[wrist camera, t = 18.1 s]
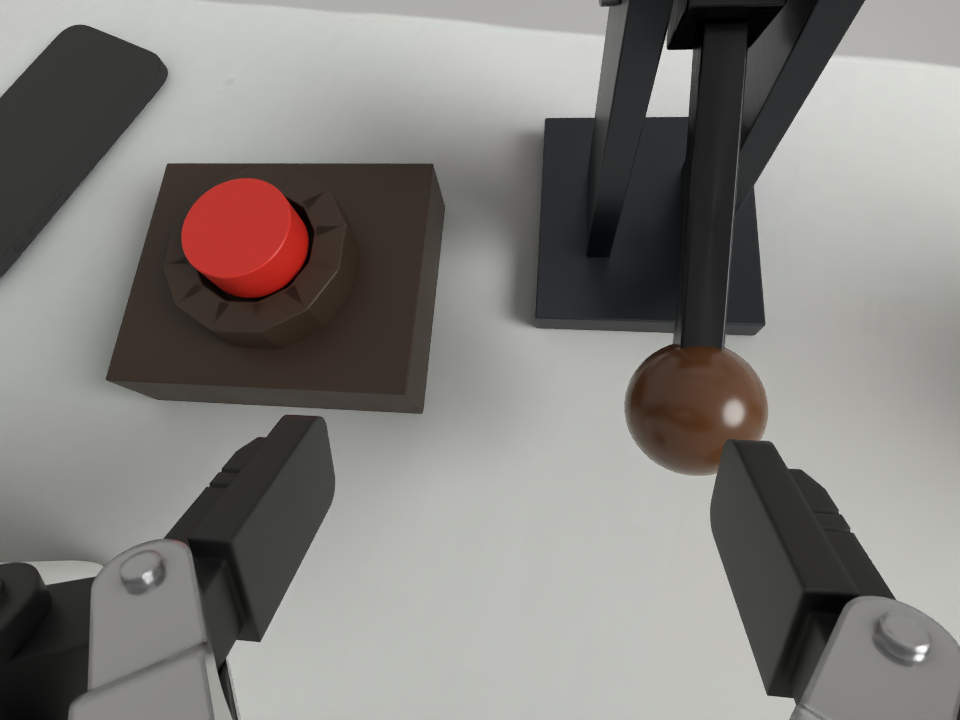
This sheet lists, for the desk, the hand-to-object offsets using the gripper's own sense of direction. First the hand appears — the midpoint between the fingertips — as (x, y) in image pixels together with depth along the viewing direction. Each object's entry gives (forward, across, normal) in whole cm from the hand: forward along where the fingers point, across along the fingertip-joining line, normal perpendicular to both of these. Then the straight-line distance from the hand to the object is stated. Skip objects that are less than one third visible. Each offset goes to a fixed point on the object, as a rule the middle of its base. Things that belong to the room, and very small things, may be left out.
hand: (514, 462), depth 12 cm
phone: (+20, +26, -4) cm, 33 cm away
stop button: (+11, +10, -1) cm, 15 cm away
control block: (+14, +10, +2) cm, 17 cm away
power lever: (+8, -5, -3) cm, 10 cm away
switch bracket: (+17, -5, -1) cm, 17 cm away
